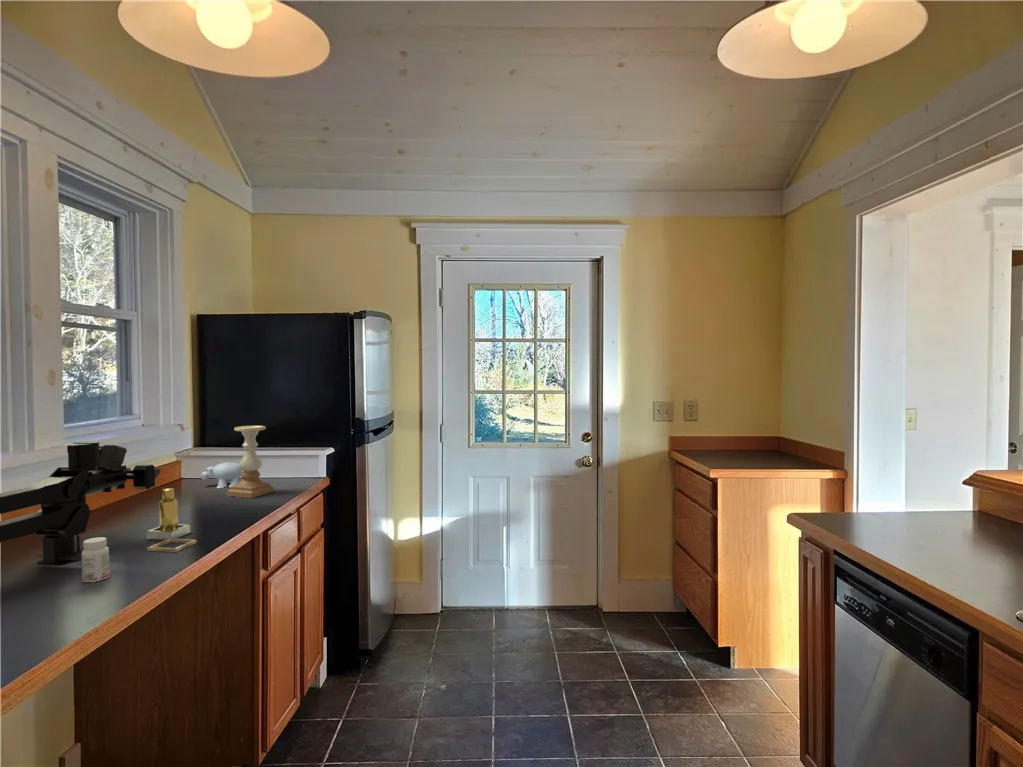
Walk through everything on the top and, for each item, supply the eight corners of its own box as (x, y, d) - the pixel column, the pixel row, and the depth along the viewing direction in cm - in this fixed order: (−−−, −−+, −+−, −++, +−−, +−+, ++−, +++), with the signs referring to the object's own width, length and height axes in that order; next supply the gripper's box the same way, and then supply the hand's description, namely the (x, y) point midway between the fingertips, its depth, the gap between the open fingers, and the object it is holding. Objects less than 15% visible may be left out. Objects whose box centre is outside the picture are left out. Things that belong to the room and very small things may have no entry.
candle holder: (249, 489, 211) (249, 424, 210) (274, 491, 208) (273, 425, 207) (226, 496, 201) (225, 427, 200) (252, 498, 197) (251, 429, 196)
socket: (171, 546, 145) (171, 532, 145) (146, 544, 146) (146, 531, 146) (190, 537, 152) (190, 524, 152) (166, 536, 153) (166, 523, 153)
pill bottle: (105, 573, 126) (104, 535, 126) (112, 578, 123) (112, 539, 123) (79, 579, 122) (78, 540, 122) (85, 584, 119) (85, 544, 119)
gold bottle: (170, 538, 147) (169, 491, 146) (156, 537, 147) (155, 490, 147) (181, 533, 151) (180, 488, 150) (167, 532, 151) (167, 487, 151)
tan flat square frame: (175, 558, 136) (175, 549, 136) (146, 556, 137) (146, 547, 137) (197, 548, 143) (197, 539, 143) (170, 547, 144) (169, 538, 144)
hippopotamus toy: (202, 484, 221) (202, 459, 220) (245, 481, 227) (245, 457, 227) (200, 490, 211) (199, 464, 211) (245, 486, 217) (244, 461, 217)
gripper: (128, 450, 142) (174, 441, 157) (62, 448, 145) (114, 440, 160) (129, 495, 142) (175, 482, 158) (63, 492, 145) (115, 480, 160)
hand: (144, 470), depth 159 cm, fingers open, 9 cm apart
